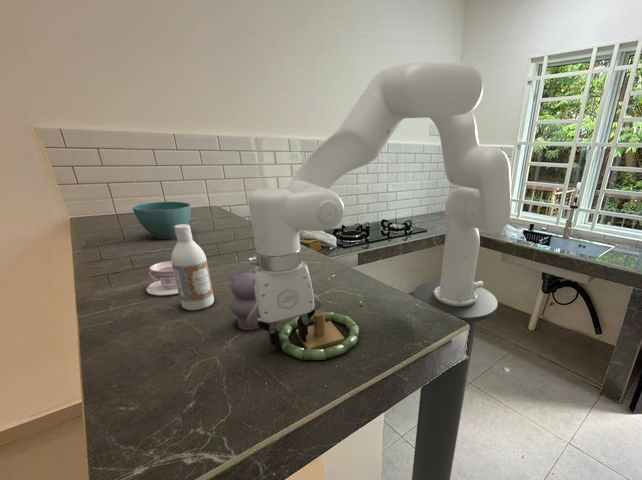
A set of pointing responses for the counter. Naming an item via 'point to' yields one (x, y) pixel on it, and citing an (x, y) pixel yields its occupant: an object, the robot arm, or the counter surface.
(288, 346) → the ring
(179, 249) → the bath foam
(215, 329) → the counter surface
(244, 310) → the cat figurine
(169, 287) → the teacup
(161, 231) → the teal bowl
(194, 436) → the counter surface
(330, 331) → the stand
